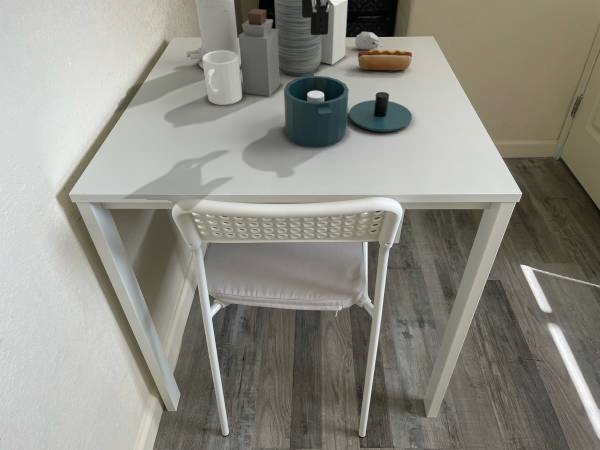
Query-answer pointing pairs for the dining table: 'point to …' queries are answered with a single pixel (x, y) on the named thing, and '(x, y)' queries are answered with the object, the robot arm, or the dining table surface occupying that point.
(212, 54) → the mug
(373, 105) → the lid
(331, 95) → the pot
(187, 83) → the dining table surface
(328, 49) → the milk carton
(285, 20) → the vase
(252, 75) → the perfume bottle
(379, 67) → the food
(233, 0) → the robot arm
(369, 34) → the figurine
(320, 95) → the pill bottle
